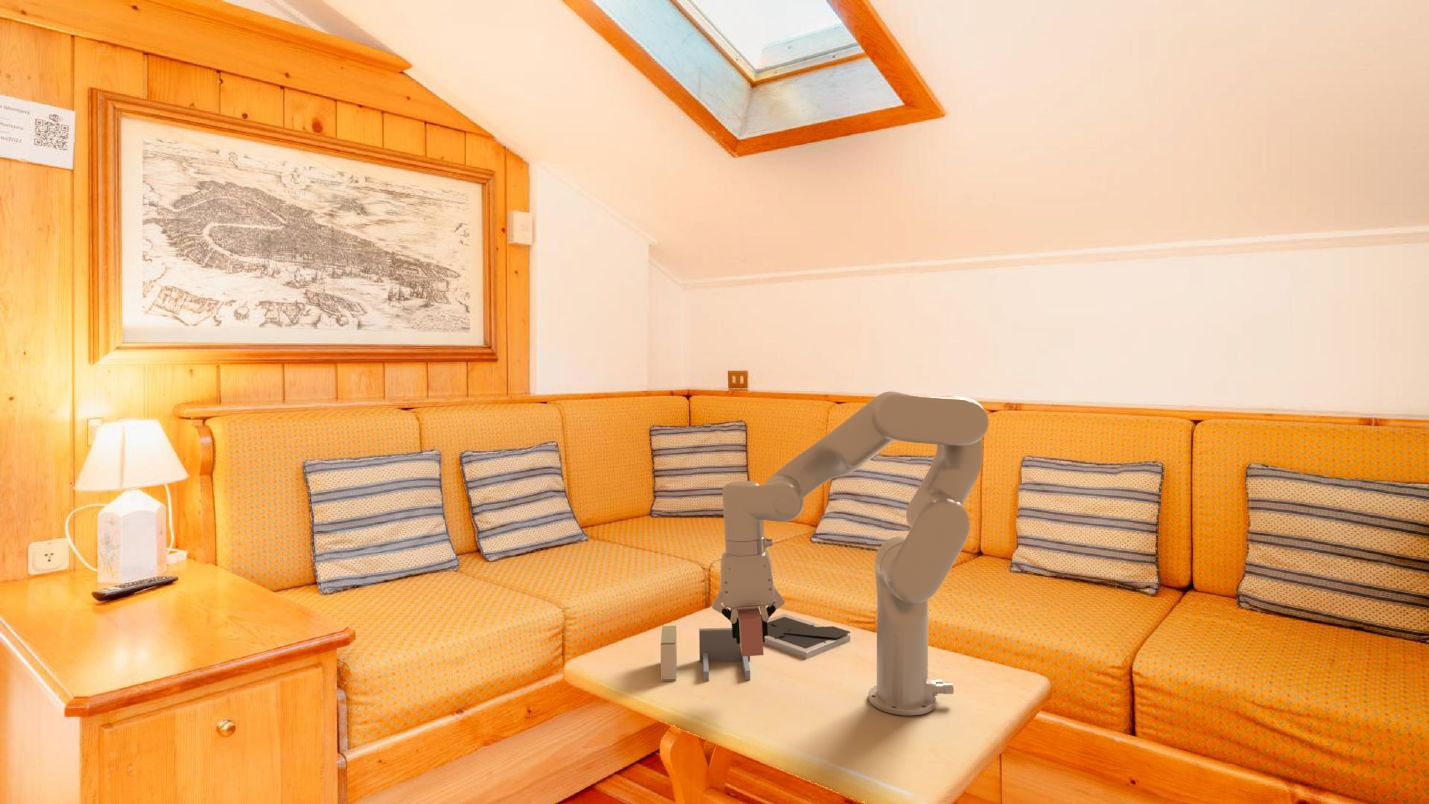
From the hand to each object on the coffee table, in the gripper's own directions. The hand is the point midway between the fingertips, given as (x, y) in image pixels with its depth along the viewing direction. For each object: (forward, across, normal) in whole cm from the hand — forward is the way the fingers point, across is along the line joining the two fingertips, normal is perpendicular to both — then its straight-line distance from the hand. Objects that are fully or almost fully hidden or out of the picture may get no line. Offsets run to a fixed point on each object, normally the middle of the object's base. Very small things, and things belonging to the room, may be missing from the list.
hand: (750, 639), depth 150 cm
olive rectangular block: (+11, +17, -15) cm, 25 cm away
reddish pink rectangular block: (+1, 0, 0) cm, 1 cm away
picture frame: (+13, -12, -33) cm, 38 cm away
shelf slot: (+12, +5, -15) cm, 20 cm away
